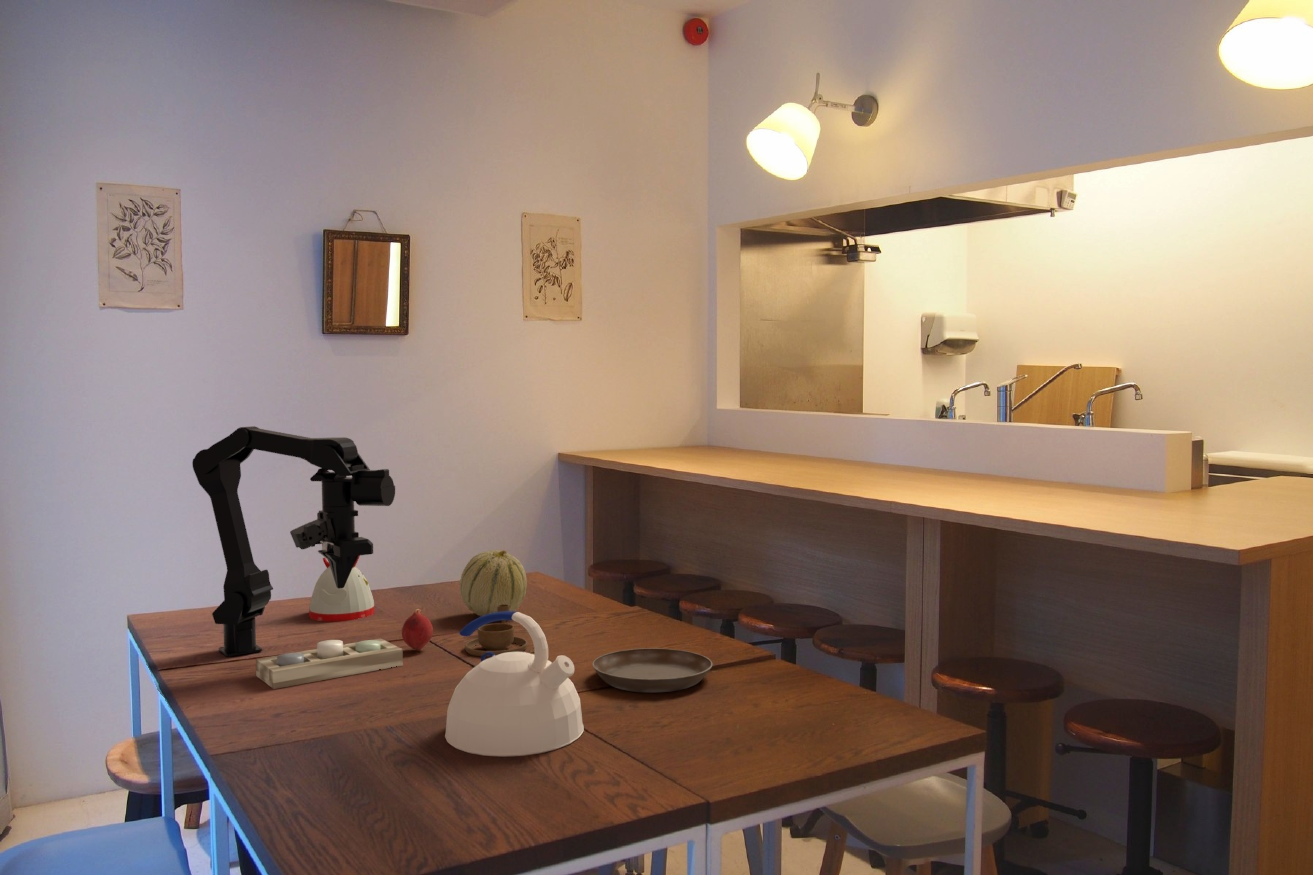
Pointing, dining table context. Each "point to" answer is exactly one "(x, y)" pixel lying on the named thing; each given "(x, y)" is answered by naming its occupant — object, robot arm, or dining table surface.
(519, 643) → the place setting
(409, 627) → the onion
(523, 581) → the cantaloupe
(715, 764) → the dining table surface
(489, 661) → the kettle
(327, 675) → the wooden compartment tray
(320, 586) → the kitchen timer
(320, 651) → the button cream
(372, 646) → the button sage
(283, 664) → the button slate
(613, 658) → the plant saucer
